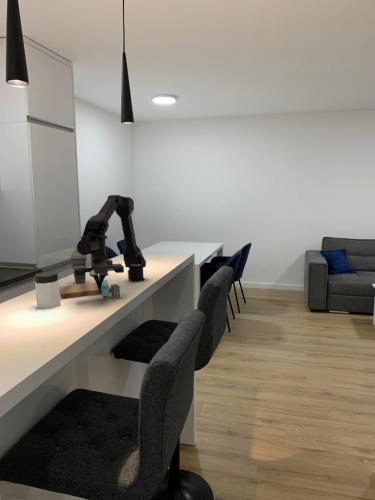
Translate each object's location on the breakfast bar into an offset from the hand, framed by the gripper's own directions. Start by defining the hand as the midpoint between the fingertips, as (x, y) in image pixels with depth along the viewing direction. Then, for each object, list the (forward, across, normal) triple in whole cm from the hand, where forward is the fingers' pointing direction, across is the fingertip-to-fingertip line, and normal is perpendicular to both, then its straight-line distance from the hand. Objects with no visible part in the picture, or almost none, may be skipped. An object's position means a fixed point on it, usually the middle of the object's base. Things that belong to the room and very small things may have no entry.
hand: (99, 291), depth 157 cm
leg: (+1, +3, +3) cm, 4 cm away
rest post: (+3, +6, 0) cm, 7 cm away
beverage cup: (+4, -4, +33) cm, 34 cm away
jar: (+4, -19, 0) cm, 19 cm away
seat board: (+3, -4, +14) cm, 15 cm away
